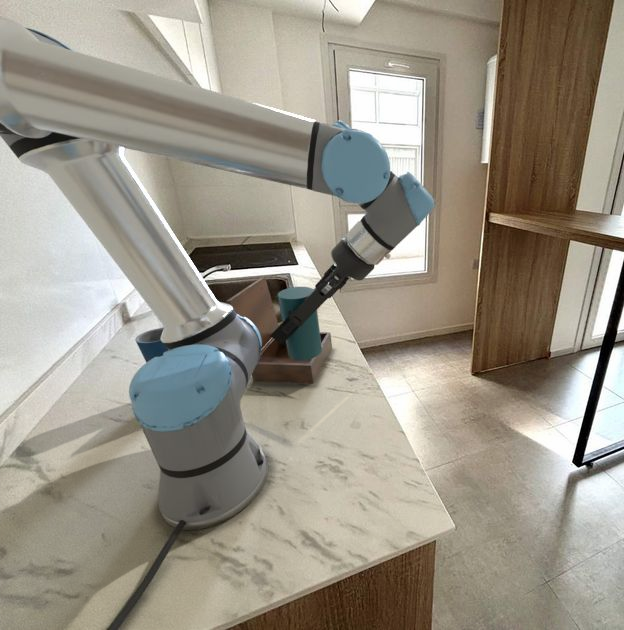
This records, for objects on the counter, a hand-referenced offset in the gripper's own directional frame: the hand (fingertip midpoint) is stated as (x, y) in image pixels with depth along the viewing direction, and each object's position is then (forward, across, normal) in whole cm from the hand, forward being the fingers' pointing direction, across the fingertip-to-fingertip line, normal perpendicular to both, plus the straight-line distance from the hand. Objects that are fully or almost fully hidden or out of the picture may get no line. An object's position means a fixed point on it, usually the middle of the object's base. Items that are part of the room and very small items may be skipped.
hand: (284, 330), depth 66 cm
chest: (+17, +15, -9) cm, 24 cm away
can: (+1, 0, -6) cm, 6 cm away
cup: (+33, +3, +7) cm, 34 cm away
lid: (+12, +15, +6) cm, 20 cm away
